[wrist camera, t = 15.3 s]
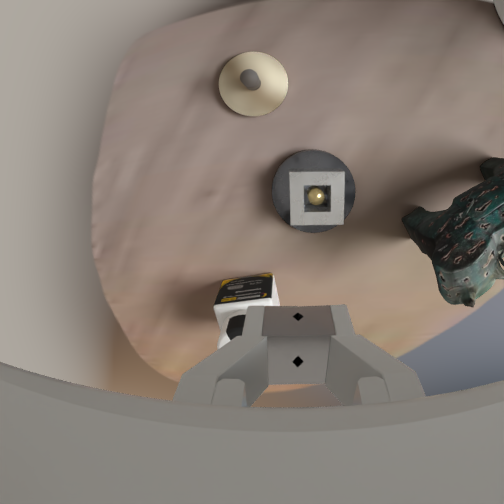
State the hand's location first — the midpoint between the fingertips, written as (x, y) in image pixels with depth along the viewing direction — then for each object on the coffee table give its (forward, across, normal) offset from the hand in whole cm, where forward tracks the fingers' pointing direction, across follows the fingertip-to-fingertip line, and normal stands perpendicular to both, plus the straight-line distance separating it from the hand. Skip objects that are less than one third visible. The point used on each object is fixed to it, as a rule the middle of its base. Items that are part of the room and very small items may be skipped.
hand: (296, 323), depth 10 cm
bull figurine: (+31, -23, +2) cm, 39 cm away
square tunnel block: (+29, -3, +2) cm, 30 cm away
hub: (+31, -3, +2) cm, 31 cm away
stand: (+31, +3, -11) cm, 33 cm away
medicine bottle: (+31, +5, +17) cm, 36 cm away
